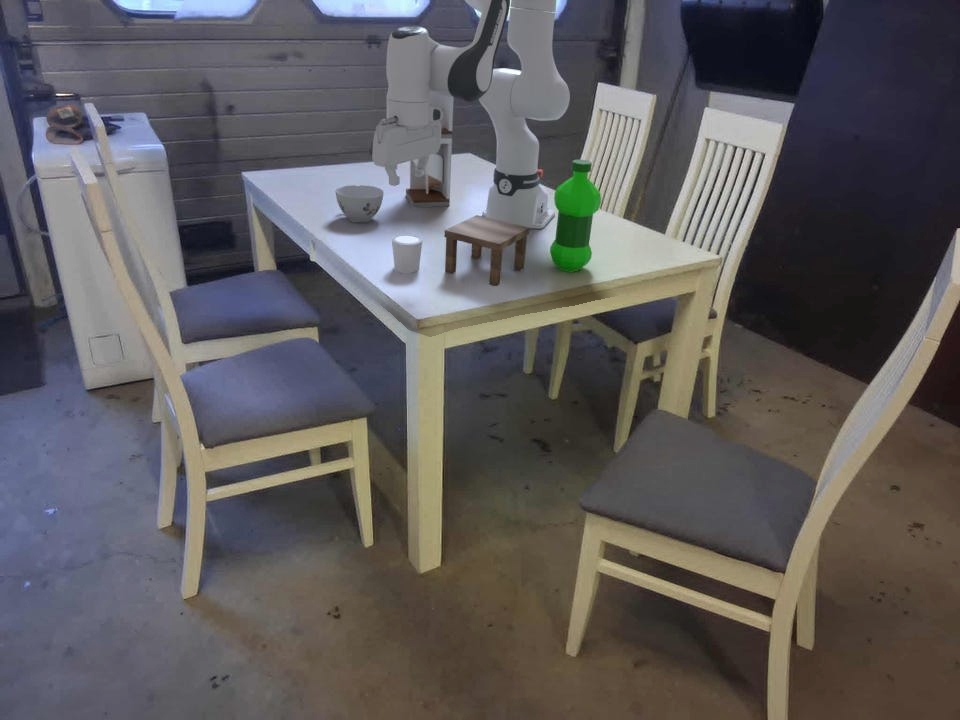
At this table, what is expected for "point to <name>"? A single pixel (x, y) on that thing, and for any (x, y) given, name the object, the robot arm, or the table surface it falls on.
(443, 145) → the display case
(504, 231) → the wooden stool
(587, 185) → the plastic bottle
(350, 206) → the teacup
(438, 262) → the table surface
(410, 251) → the white cup
